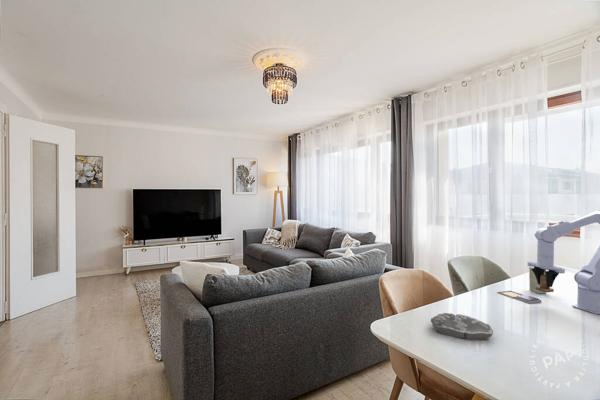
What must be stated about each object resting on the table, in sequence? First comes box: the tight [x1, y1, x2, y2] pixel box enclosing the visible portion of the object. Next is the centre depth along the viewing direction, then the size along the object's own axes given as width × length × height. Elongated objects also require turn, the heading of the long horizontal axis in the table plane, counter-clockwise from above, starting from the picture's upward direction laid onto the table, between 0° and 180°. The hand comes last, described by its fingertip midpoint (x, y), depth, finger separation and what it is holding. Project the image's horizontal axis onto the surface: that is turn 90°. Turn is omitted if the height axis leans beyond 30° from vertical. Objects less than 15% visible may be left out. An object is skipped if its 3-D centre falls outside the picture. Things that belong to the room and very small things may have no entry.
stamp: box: [536, 274, 555, 293], centre depth 135 cm, size 4×4×7 cm
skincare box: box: [528, 266, 547, 294], centre depth 156 cm, size 6×4×12 cm
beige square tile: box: [496, 290, 523, 300], centre depth 150 cm, size 9×9×1 cm
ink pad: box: [515, 294, 542, 304], centre depth 142 cm, size 7×7×1 cm
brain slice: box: [430, 312, 494, 341], centre depth 110 cm, size 20×17×3 cm
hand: (544, 285), depth 135 cm, fingers closed on stamp, 3 cm apart
